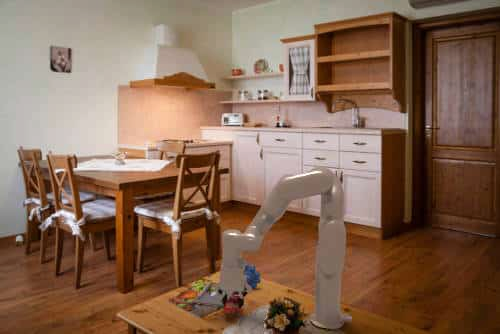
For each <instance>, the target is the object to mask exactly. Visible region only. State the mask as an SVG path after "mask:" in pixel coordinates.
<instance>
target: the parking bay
mask: <svg viewBox="0 0 500 334" xmlns="http://www.w3.org/2000/svg"><path fill="white" fill-rule="evenodd" d="M218 282H219V280H218V281H217V280H209V281H208V282H207V283H206V284H207V285H206V284H205V285H206V286H205V285H204V287H203V288H202V289H203V290H202V289H201V290H202V291H201V290H200V291H201V292H198V294H197V295H196V297H194V299H193V300H192V303H200V304H210V305H216V306H219V308H224V304H223V302H222V297H219V296H215V295H214V296H211V295H209V294H207V293H206V291H207V290H208V288H209V287H210V285H211V284H215V285H216V284H217V283H218ZM229 292H230V291H227V292H226V295H227V296H228V294H229ZM229 299H230V297H229V298H227V301H228V300H229ZM216 306H215V307H216Z"/></svg>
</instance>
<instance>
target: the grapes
mask: <svg viewBox="0 0 500 334" xmlns="http://www.w3.org/2000/svg"><path fill="white" fill-rule="evenodd" d="M243 264H244V266H245V271H246V281H247V283H248V284H249V286H250V287H251V288H252V289H256V288H257V287H258V285H259V284H261V283H262V281H261V278H260V277H261V272H260V271H259V270H257V268H256V266H255V265H254V264H250V265H249V263H248V262H246V263H243Z"/></svg>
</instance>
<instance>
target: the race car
mask: <svg viewBox="0 0 500 334" xmlns="http://www.w3.org/2000/svg"><path fill="white" fill-rule="evenodd" d="M239 298H240V296H239V294H233V295H232V296H231V297H230V299H229V300H228V301H227V302H225V303H226V305H225V306H224V307H222V312H223V314H225V315H237V312H239V310H240V308H239Z"/></svg>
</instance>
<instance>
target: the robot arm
mask: <svg viewBox="0 0 500 334" xmlns="http://www.w3.org/2000/svg"><path fill="white" fill-rule="evenodd" d="M341 182H342V181H341V180H340V179H339V177H338V176H337V175H336V174H335V172H333V171H332V170H330V168H328V167H324V166H321V165H318V166H315V167H313V168H311V170H309V172H305V173H302V174H298V175H295V174H292V173H287V174H283V175H282V176H281V177H279V179H278V181H277V182H276V184H275V185H274V187H273V188H272V189H271V191H270V193H269V194H268V196H267V197H266V199H265V200H264V201H263V203H262V205H261V206H260V209H259V210H258V212H257V214H256V215H255V216H254V218H253V219H252V220H251V222H250V224H249V225H248V227H247V228H246V229H245V231H244V233H242V232H241V230H238V229H227V230H224V231H223V232H222V234H221V235H222V237H221V238H222V239H221V240H222V241H221V242H222V244H221V245H222V246H221V248H222V250H221V251H222V263H221V265H220V271H219V280H218V283H217V284H216V285H215V286H214V288H215V289H216V290H217V291H218V293H219V294H220V295H221V297H222V302H223V304H224V306H225V305H226V303H225V302H227V295H226V292H227V291H235V292H236V293H238V295H239V296H240V298H239V310H242V307H243V306H244V305H245V297H246V296H247V295H248V294H249V293H251V292H252V290H253V288H252V287H250V286H249V284H248V283H247V281H246V271H245V266H244V264H243V263H247V260H246V259H243V252H245V253H255V252H257V251H258V250H259V249H260V247H261V244H262V241H263V239H264V238H265V237H266V235H267V233H268V232H269V231H270V229H271V227H272V226H273V225H274V224H275V222H277V221H279V220H280V219H281V218H282V216H283V215H284V214H285V213H286V211H287V209H288V208H289V207H290V205H291V204H292V202H293V201H296V200H301V199H306V198H311V197H314V196H318V195H320V213H319V214H320V215H319V221H318V241H317V242H318V243H317V244H318V246H317V247H316V252H315V283H314V284H315V287H314V288H315V289H314V311H313V314H311V315H310V316H309V321H310V320H314V321H317V322H319V323H321V324H323V325H324V326H325V327H327V328H331V329H332V330H337V329H340V328H342V327H343V326H344V322H351V323H352V319H353V317H352V316H350V315H349V314H348V313H343V312H342V311H341V292H342V290H341V288H342V270H343V269H344V266H345V261H346V260H345V257H346V248H347V247H346V244H347V230H346V226H345V223H344V222H345V221H344V212H345V204H344V203H345V193H344V188H343V184H342V183H341ZM219 286H220V287H219ZM245 289H246V290H245ZM235 292H234V293H235Z"/></svg>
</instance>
